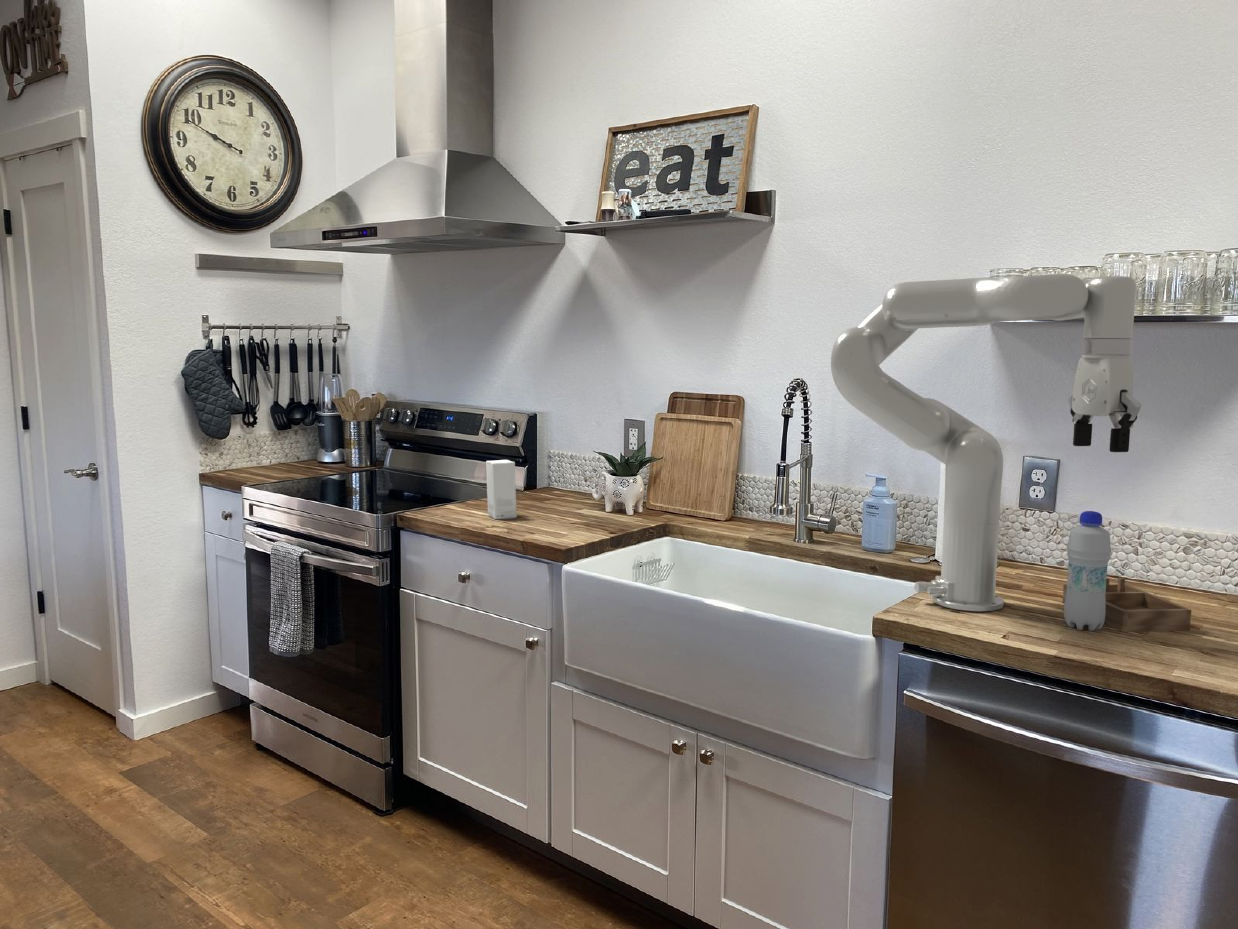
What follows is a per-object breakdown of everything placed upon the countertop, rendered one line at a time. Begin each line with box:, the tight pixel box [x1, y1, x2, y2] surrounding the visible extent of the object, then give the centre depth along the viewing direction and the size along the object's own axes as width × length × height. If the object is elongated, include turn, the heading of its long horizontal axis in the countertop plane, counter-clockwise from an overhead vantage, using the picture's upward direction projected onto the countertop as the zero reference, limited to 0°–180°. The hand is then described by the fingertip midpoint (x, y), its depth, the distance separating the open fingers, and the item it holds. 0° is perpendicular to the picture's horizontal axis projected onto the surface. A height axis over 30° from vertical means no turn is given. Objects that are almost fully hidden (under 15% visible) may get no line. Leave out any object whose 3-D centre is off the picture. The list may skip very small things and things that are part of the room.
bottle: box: [1063, 510, 1112, 632], centre depth 158 cm, size 7×7×20 cm
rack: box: [1062, 577, 1192, 633], centre depth 166 cm, size 12×18×5 cm, turn 5°
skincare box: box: [485, 459, 518, 520], centre depth 259 cm, size 8×7×16 cm
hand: (1099, 448), depth 163 cm, fingers open, 9 cm apart
